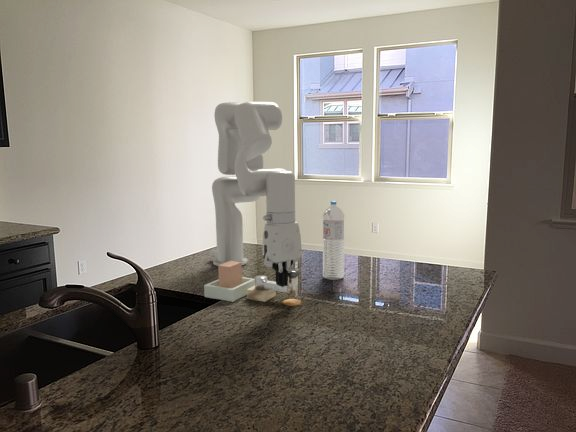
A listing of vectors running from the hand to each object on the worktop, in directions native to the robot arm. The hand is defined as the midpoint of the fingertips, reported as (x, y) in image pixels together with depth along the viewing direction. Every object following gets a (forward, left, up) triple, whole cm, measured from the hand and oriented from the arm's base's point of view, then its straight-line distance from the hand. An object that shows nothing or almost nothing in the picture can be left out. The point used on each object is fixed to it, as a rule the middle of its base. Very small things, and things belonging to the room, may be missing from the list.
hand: (281, 285), depth 132 cm
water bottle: (+1, +32, -6) cm, 32 cm away
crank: (-4, +4, -3) cm, 6 cm away
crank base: (-4, +4, -6) cm, 8 cm away
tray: (-19, +3, -6) cm, 20 cm away
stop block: (-19, +3, -5) cm, 20 cm away
